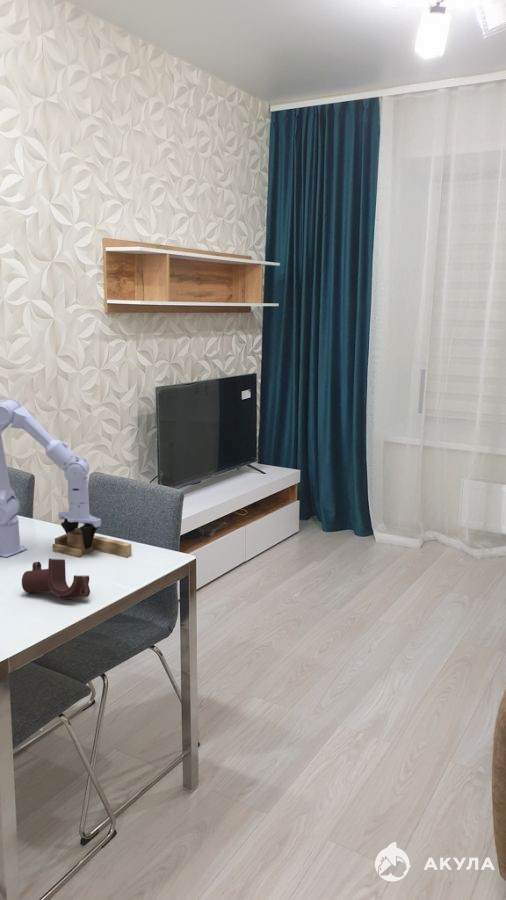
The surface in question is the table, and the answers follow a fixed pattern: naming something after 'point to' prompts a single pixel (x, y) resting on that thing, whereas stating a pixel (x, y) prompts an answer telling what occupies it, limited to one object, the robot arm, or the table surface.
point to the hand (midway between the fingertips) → (80, 546)
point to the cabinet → (77, 541)
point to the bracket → (55, 580)
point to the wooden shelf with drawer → (94, 546)
